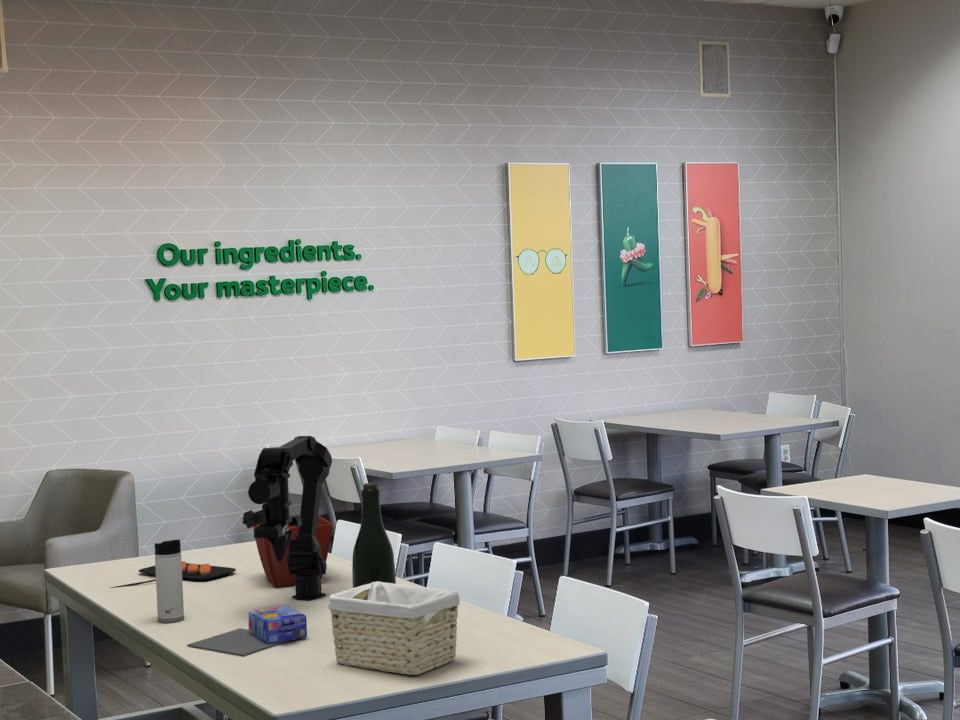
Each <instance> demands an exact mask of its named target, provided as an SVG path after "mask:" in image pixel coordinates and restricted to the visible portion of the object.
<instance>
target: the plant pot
mask: <svg viewBox="0 0 960 720" xmlns="http://www.w3.org/2000/svg"><path fill="white" fill-rule="evenodd" d="M261 524H262V523H260V524H258V525H256V526H253V527H252V528H253V530H254V529H255V528H256V527H257V526H259V525H261ZM287 528H289V530H294V533H293V535H292V537H291V540H294V539H295V538H296V536H297V535H298V528H299V527H296V525H294V526H287ZM332 528H333V523H332V522H330V521H329V520H327V519H325V518H323V517H322V516H320V515H318V523H317V532H316V538H317V540H318V543H319V545H320V547H321V554H322V556H323V558H324V560H325V562H326V563H327V559H328V555H329V550H330V544H331V538H332V531H333V529H332ZM254 540H255V544H256V548H257V551H258V552H257V553H258V555H259V558H260V562H261V565H262V568H263V571H264V574H265V578H266V579H267V580H268V581H269V582H270V583H271V585H272V586H273V587H275V588H276V587H277V588H278V587H288V586H289V587H290V586H291V587H292V586H295V581H296V575H290V573H289V568H288V563H287V555H288V552H289V545H288V547H287V550H286V552H285V555H284V558H283V560H282V561H277V559H276V556H275V553H274V550H273V547H272V544H271V542H270V541H269V540H268V539H267V538H254ZM291 540H290V541H291ZM289 543H290V542H289ZM321 579H323V574H322V575H321Z"/></svg>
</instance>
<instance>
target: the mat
mask: <svg viewBox="0 0 960 720" xmlns="http://www.w3.org/2000/svg"><path fill="white" fill-rule="evenodd" d="M291 641H292V640H287V641H282V642H276V643H271V644H266V643H265V642H263V641H261V640H260V639H258V638H256V637H255V636H253V635H251V634H250V633H249V628H248V629H247V628H240V627H239V628H236V629H233V630H229V631H226V632H223V633H221V634H217V635H214V636H211V637H207V638H204V639H201V640H197V641H194V642H192V643H188V644H186V647H189V648H195V649H200V650H206V651H210V652H211V651H212V652H217V653H221V654H227V655H233V656H238V657H242V658H243V657H246V656H250V655H252V654H255V653H258V652H261V651H264V650H267V649H270V648H272V647H276V646H279V645H282V644H285V643H288V642H291Z"/></svg>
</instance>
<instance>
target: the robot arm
mask: <svg viewBox="0 0 960 720" xmlns="http://www.w3.org/2000/svg"><path fill="white" fill-rule="evenodd" d="M293 461H295V462H296V463H297V465H298V472H299V474H300V476H301V478H302V480H303V485H302V493H301V495H302V496H301V503H300V512H299V514H291V512H290V506H292V505H293V504H292V503H293V502H292V500H290V493H289V478H291V474H290V473H289V471H290V470H291V469H290V468H292V466H293V465H294V463H293ZM332 463H333V458H332V454H331V453H330V451H329V450H328V448H327V447H326V446H325V445H323V444H321V442H319V441H317V440H316V437H314V436H311V435H298V436H295V437H294V438H293V439H292V440H290V441H287V442H286V443H284V444H282V445H280V446H277V447H276V446H275V447H274V446H273V447H264V448H262V449H261V451H260V453H259V455H258V458H257V463H256V466H255V470H254V474H253V476H254V479H255V480H254V481H253V482H252V483H251V484H250V485H249V487H248V490H247V493H248V494H247V495H248V497H249V500H250V501H251V502H253V503H254V504H257V505H261V509H260V510H258V511H255V512H254V511H253V510H251V509H250V510H247V511H246V512H243V517H242V524H243V525H245V527H246V528H247V530H249V529H252V528H253V526H256V525H258V524H260V523H262V524H261V525H259V526H257V527H256V528H255V529H253V539H255V538H267V539H268V540H269V541H270V542H271V544H272V547H273V550H274V553H275V556H276V559H277V561H282V560H283V558H284V555H285V552H286V550H287V547H288V545H289V552H288V555H287V563H288V568H289V573H290V575H296V581H295V585H294V586H295V587H294V590H295V594H294V595H291V597H292V599H298V600H306V601H312V600H315V599H319V598H321V597H322V598H323V597H325V596H327V593H325V592H322V578H321V575H322V576H323V575H325V574H326V573H327V568H328V567H327V566H328V565H327V561H326V562H325V560H324V558H323V556H322V554H321V547H320V545H319V543H318V540H317V538H316V532H317V523H318V516H319V513H320V502H321V493H322V484H323V483H324V482H325V480H326V479H327V477H329V475H330V470H331V467H332ZM294 525H296V527H299V528H298V535H297V536H296V538H295V539H294V540H291V537H292V535H293V533H294V530H289V528H287V526H294ZM290 540H291V541H290ZM289 542H290V543H289Z"/></svg>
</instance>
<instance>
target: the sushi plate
mask: <svg viewBox="0 0 960 720" xmlns="http://www.w3.org/2000/svg"><path fill="white" fill-rule="evenodd" d="M181 561H182V560H181ZM236 571H237V569H236V568H235V567H234V568H233V567H227V566H218V565H217V566H216V565H211V564H209V563H203V564H200V563H199V564H198V563H190V562H189V563H188V562H186V561H182V579H186V578H187V580H188V579H189V580H195V579H196V581H197V580H198V581H207V580H212V579H216V578H219V577H222V576H225V575H228V574H232V573H234V572H236ZM138 572H139V573H141V574H148V575H152V576H154V577H156V570H155V565H151V566H148V567H144V568H141V569H138ZM215 577H216V578H215ZM211 578H212V579H211ZM206 579H207V580H206ZM153 582H156V578H155V579H151V580H145V581H140V582H139V581H138V582H132V583H127V584H122V585H116V586H111V587H109V588H110V589H115V588H123V587H124V588H125V587H132V586H137V585H143V584H147V583H153Z"/></svg>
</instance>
